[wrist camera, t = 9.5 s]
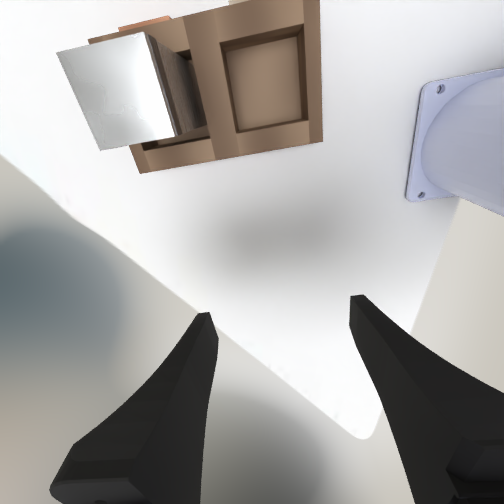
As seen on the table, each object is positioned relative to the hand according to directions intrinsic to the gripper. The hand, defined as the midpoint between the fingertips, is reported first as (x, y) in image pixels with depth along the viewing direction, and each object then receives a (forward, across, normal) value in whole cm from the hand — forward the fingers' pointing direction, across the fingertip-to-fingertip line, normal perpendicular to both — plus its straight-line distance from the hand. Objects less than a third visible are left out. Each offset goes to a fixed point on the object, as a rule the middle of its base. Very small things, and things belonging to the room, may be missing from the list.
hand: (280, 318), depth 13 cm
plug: (+10, +5, -11) cm, 16 cm away
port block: (+10, +2, -10) cm, 15 cm away
